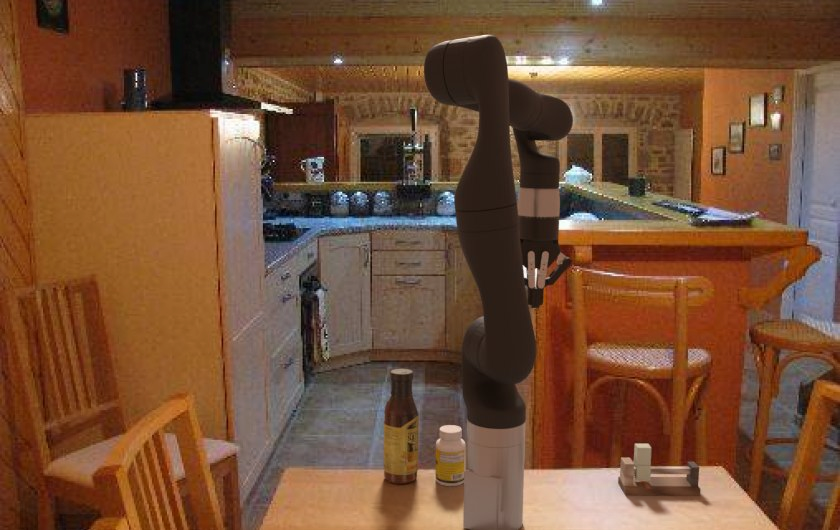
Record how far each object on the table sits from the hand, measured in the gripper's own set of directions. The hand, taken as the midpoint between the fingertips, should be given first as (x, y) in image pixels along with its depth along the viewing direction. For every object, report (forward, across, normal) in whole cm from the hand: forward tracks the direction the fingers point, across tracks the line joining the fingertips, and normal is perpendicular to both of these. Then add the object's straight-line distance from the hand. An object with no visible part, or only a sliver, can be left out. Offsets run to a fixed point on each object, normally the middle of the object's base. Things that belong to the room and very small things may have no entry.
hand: (534, 307), depth 150 cm
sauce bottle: (+31, -24, -7) cm, 40 cm away
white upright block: (+28, +18, -10) cm, 35 cm away
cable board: (+30, +22, -10) cm, 38 cm away
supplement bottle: (+31, -15, -8) cm, 35 cm away
